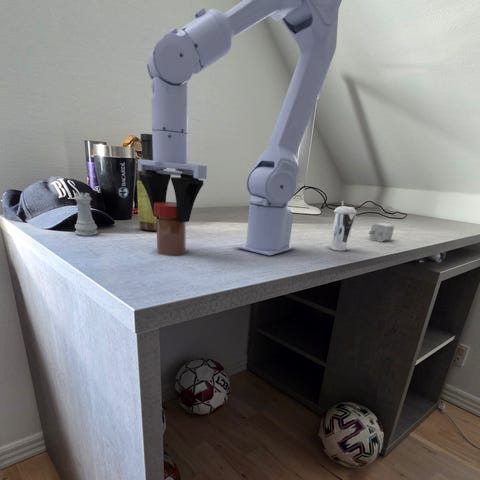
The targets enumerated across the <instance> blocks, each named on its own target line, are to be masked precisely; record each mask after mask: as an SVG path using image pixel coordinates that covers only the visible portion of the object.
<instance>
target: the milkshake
mask: <svg viewBox="0 0 480 480" xmlns="http://www.w3.org/2000/svg"><path fill="white" fill-rule="evenodd" d="M344 202H345V201H344V200H341V206H337V207H336V208H335V209H334V211H333V222H332V232H331V239H330V240H331V241H330V249H331V250H334V251H340V252H344V251H346V250H347V247H348V244H349V240H350V236H351V232H352V229H353V225H354V222H355V220H356V216H357V210H356V208H355V207H353V206H346V205H345V203H344ZM344 205H345V206H344Z"/></svg>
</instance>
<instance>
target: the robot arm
mask: <svg viewBox="0 0 480 480" xmlns="http://www.w3.org/2000/svg"><path fill="white" fill-rule="evenodd" d="M342 1H343V0H242V1H240V2H239V3H238V4H236V5H235V6H233V7H232V8H231V9H229V10H227V11H226V12H222V11H220V10H218V9H216V8H210V9H209V10H206V9H205V7H201V8H199V10H197V11H196V12H195V13H194V17H195V18H194V19H193V20H191V21H190V22H188V23H187V24H186V25H184V26H183V27H180V28H179V29H177V27H173V28H171V29H170V30H169V31H168V32H167V33H165V34H164V35H163V37H162V38H160V39H159V40H158V41H157V42H156V44H155V46H154V47H153V48H152V50H151V52H150V54H149V56H148V62H147V64H146V70H147V73H148V75H149V77H150V80H151V91H152V92H151V93H152V94H151V99H150V100H151V130H152V131H151V132H152V133H151V134H152V140H153V160H142V158H140V159H139V158H137V167H138V171H146V173H145V174H139V179H140V180H141V182H142V184H143V186H144V188H145V190H146V192H147V195H148V197H149V201H150V204H151V208H152V212H153V215H154V203H155V202H167V194H168V193H167V192H168V187H169V184H170V182H171V184H172V187H173V192H174V196H175V202H176V206H177V219H178V222H186V223H189V222H190V218H191V215H192V211H193V208H194V204H195V201H196V199H197V197H198V194H199V193H200V190H201V189H202V187H203V186H204V180H206V179H207V170H208V166H207V165H201V164H195V163H189V108H190V107H189V105H190V104H189V102H190V101H189V82H188V81H190V79H192V76H193V74H194V75H197V74H199V73H200V72H202V71H204V70H205V69H207V68H208V67H209V66H211V65H213V64H214V63H215V62H217V61H219V60H220V59H222V58H223V57H225V56H226V55H228V54H229V53H230V52H231V50H232V45H233V41H234V38H235V37H237V36H238V35H240V34H242V33H243V32H245V31H246V30H248V29H249V28H251V27H254V26H255V25H256V24H258V23H260V22H261V21H263V20H265V19H267V18H268V17H270V18H271V19H273V20H274V21H275V22H280V21H282V23H283V25H284V27H286V29H287V31H288V32H289V34H290V35H291V37H292V38H293V40H294V41H295V43H296V44H297V46H298V48H299V51H300V55H299V58H298V60H297V63H296V67H295V69H294V72H293V74H292V77H291V80H290V83H289V86H288V90H287V92H286V95H285V98H284V100H283V102H282V103H283V104H282V106H281V110H280V112H279V113H278V114H279V115H278V117H277V121H276V123H275V126H274V129H273V132H272V134H271V137H270V141H269V143H268V145H267V147H266V149H264V150H263V152H262V153H261V154H260V155H259V157H258V158H257V162H256V164H255V165H254V167H253V168H251V170H250V171H249V173H248V174H247V177H246V182H245V183H246V184H245V187H246V190H247V192H248V194H249V195H250V199H249V208H248V218H247V232H246V243H244V244H238V245H237V249H241V250H245V251H249V252H253V253H257V254H261V255H265V256H273V255H277V254H279V253H284V252H287V251H290V250H293V249H294V246H292V245H291V244H290V243H291V237H292V235H291V234H292V228H293V219H294V217H293V212H292V210H291V208H290V207H289V206H288V202H290V201H291V200H292V198H293V197H294V195H295V193H296V189H297V176H298V172H299V169H300V165H299V163H298V160H297V153H298V150H299V148H300V145H301V142H302V140H303V137H304V135H305V132H306V129H307V127H308V124H309V122H310V119H311V117H312V114H313V111H314V108H315V106H316V104H317V100H318V97H319V95H320V92H321V90H322V87H323V84H324V82H325V79H326V77H327V74H328V71H329V68H330V66H331V63H332V61H333V58H334V55H335V53H336V49H337V43H338V42H337V40H338V24H339V11H340V6H341V3H342ZM160 169H164V170H160ZM167 169H174V170H175V171H172V170H167ZM176 176H177V177H176ZM154 216H155V217H159V216H156V215H154Z"/></svg>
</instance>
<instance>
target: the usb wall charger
mask: <svg viewBox="0 0 480 480" xmlns="http://www.w3.org/2000/svg"><path fill="white" fill-rule="evenodd" d="M394 230H395V225H393V224H390V223H385V222H379V223H373V224H372V225H371V226H370V230H369V231H368V235H369V239H370V240H372V241H377V242H385V241H391V240H392V237H393V235H394Z"/></svg>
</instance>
